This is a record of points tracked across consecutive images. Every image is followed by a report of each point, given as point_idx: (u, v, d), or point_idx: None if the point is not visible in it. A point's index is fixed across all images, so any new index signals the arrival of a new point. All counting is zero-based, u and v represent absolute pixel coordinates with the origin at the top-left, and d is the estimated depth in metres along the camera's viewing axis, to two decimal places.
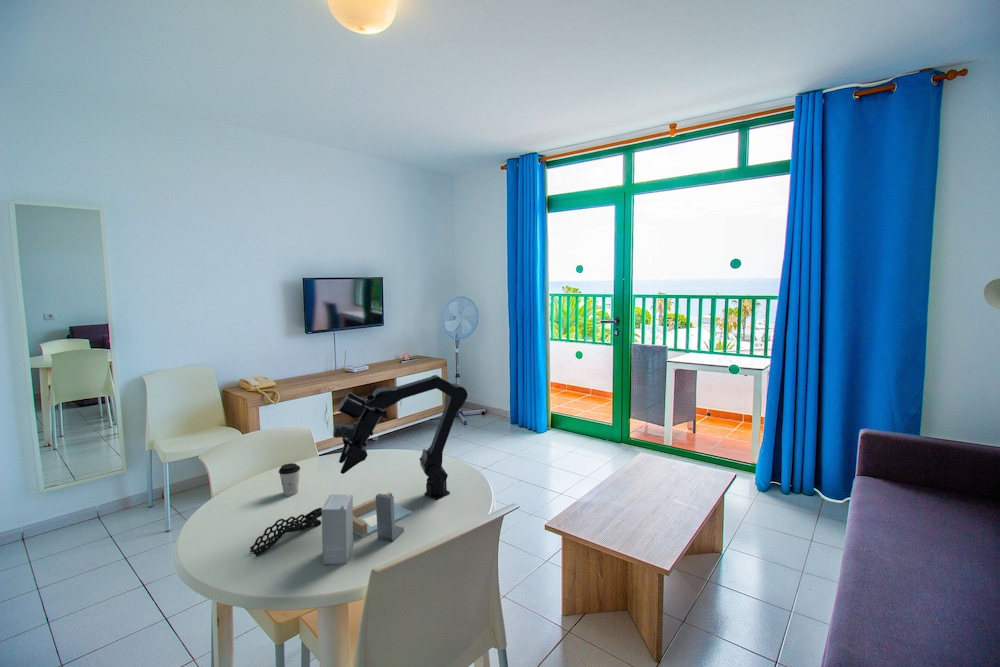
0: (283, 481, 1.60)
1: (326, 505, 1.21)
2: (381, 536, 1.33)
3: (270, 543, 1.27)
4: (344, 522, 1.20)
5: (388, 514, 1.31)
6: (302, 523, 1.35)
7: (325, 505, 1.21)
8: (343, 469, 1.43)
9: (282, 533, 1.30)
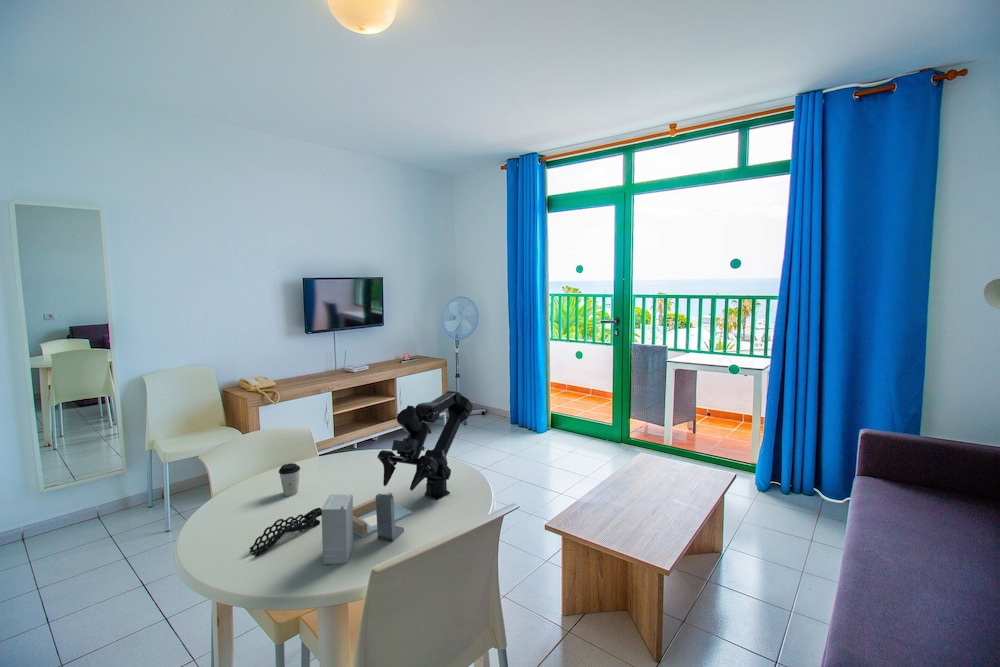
0: (283, 481, 1.60)
1: (326, 505, 1.21)
2: (381, 536, 1.33)
3: (270, 543, 1.27)
4: (344, 522, 1.20)
5: (388, 514, 1.31)
6: (301, 523, 1.36)
7: (325, 505, 1.21)
8: (413, 485, 1.36)
9: (282, 533, 1.30)
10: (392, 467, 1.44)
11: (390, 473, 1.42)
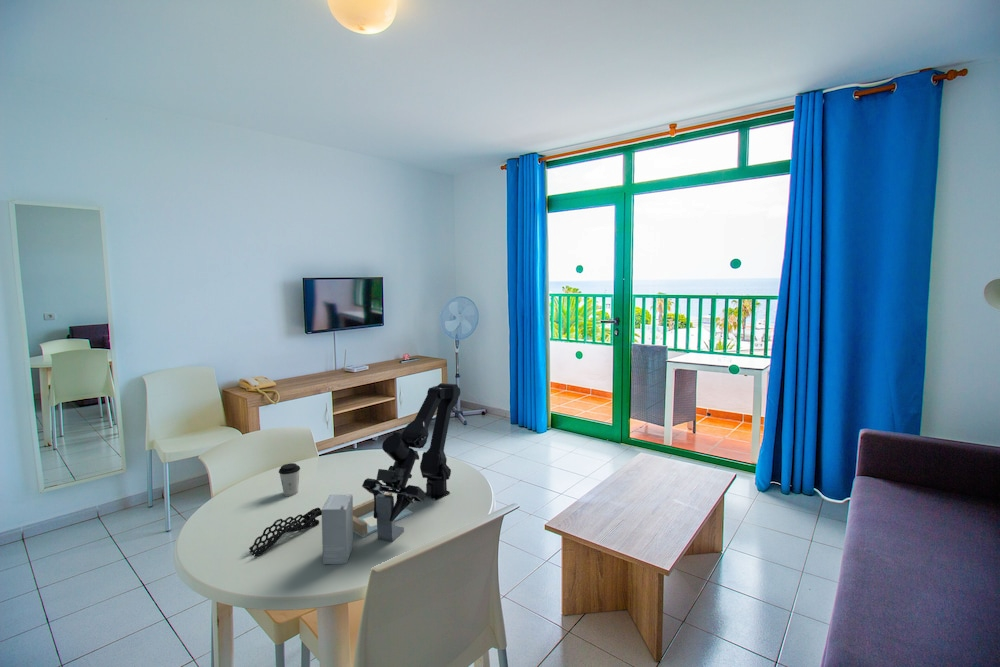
0: (283, 481, 1.60)
1: (326, 505, 1.21)
2: (381, 536, 1.33)
3: (269, 543, 1.27)
4: (344, 522, 1.20)
5: (388, 514, 1.31)
6: (301, 523, 1.36)
7: (325, 505, 1.21)
8: (393, 516, 1.30)
9: (281, 533, 1.30)
10: None
11: None
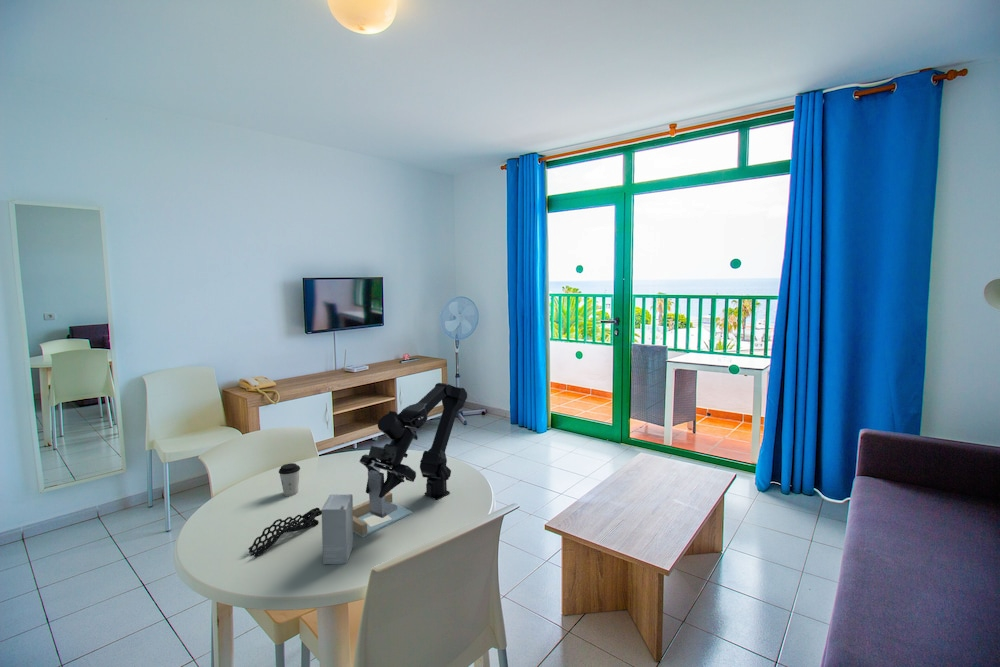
0: (283, 481, 1.60)
1: (326, 505, 1.21)
2: (373, 511, 1.35)
3: (269, 543, 1.27)
4: (344, 522, 1.20)
5: (378, 490, 1.33)
6: (300, 523, 1.36)
7: (325, 505, 1.21)
8: (383, 492, 1.32)
9: (281, 533, 1.30)
10: None
11: None
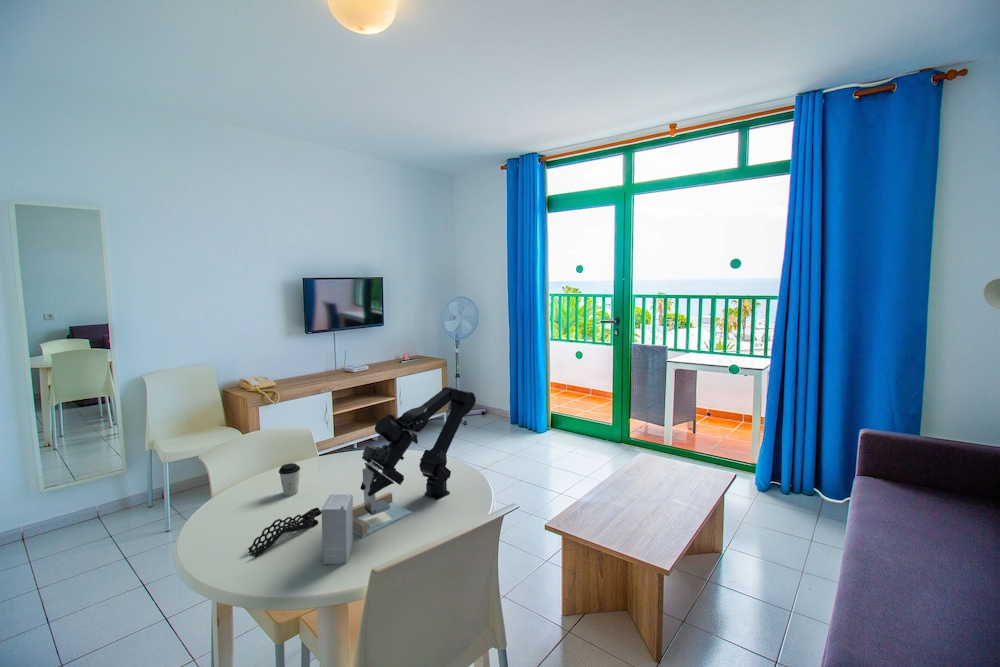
0: (283, 481, 1.60)
1: (326, 505, 1.21)
2: (366, 507, 1.42)
3: (268, 543, 1.27)
4: (344, 522, 1.20)
5: (368, 488, 1.39)
6: (300, 523, 1.36)
7: (325, 505, 1.21)
8: (371, 491, 1.37)
9: (280, 533, 1.30)
10: (375, 472, 1.45)
11: None
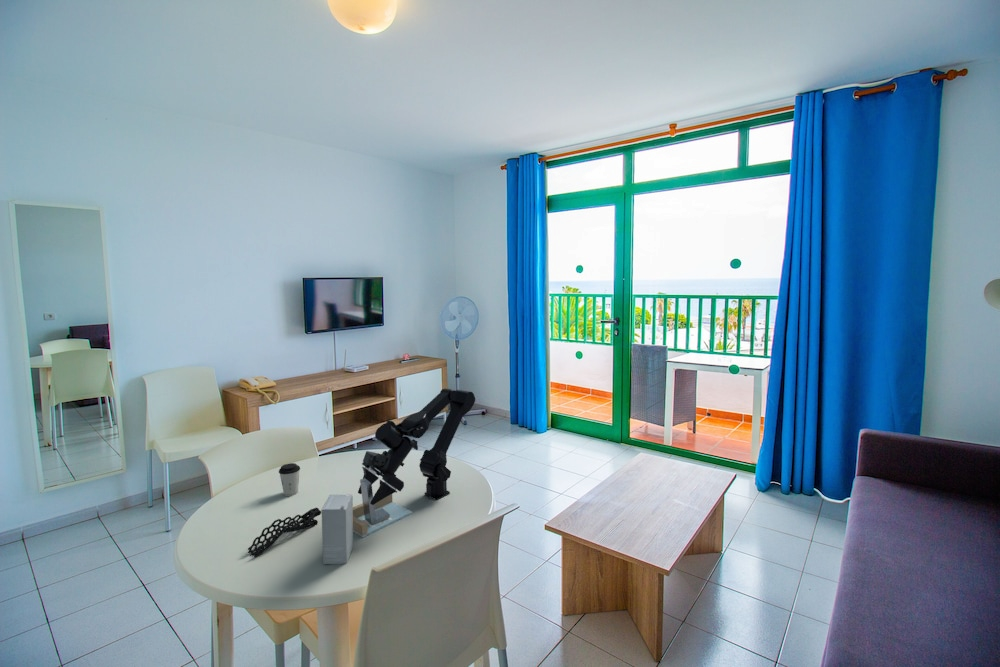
0: (283, 481, 1.60)
1: (326, 505, 1.21)
2: (366, 517, 1.42)
3: (268, 543, 1.27)
4: (344, 522, 1.20)
5: (367, 499, 1.39)
6: (299, 523, 1.36)
7: (325, 505, 1.21)
8: (374, 500, 1.36)
9: (280, 533, 1.30)
10: (373, 477, 1.46)
11: None
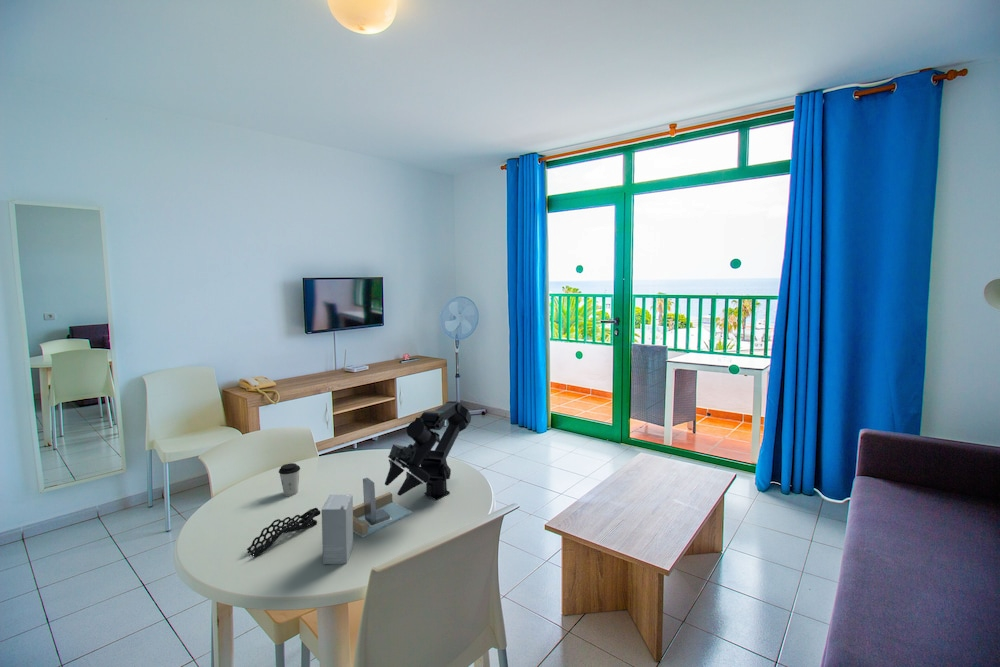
0: (283, 481, 1.60)
1: (326, 505, 1.21)
2: (366, 517, 1.42)
3: (268, 543, 1.27)
4: (344, 522, 1.20)
5: (369, 498, 1.39)
6: (299, 523, 1.36)
7: (325, 505, 1.21)
8: (401, 491, 1.42)
9: (279, 533, 1.30)
10: (399, 469, 1.52)
11: (395, 474, 1.51)
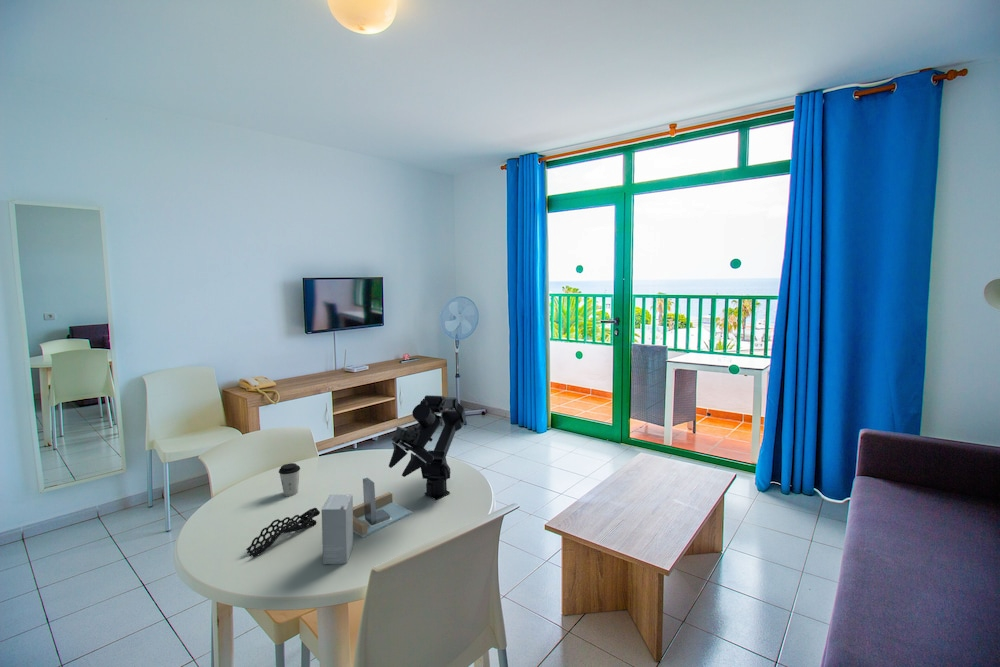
0: (283, 481, 1.60)
1: (326, 505, 1.21)
2: (366, 517, 1.42)
3: (267, 544, 1.27)
4: (344, 522, 1.20)
5: (369, 498, 1.39)
6: (298, 523, 1.35)
7: (325, 505, 1.21)
8: (406, 472, 1.43)
9: (279, 533, 1.30)
10: (402, 452, 1.53)
11: (399, 457, 1.52)
